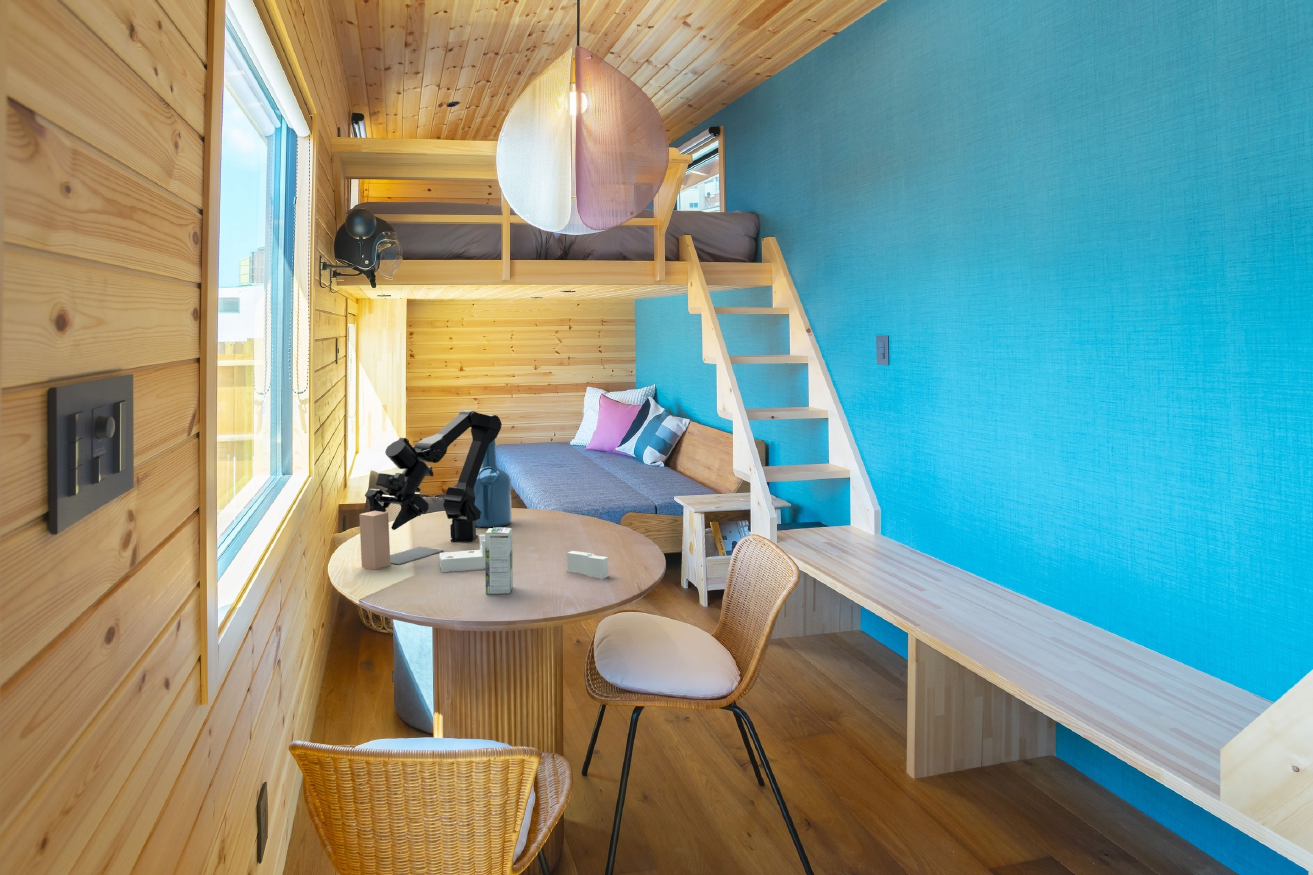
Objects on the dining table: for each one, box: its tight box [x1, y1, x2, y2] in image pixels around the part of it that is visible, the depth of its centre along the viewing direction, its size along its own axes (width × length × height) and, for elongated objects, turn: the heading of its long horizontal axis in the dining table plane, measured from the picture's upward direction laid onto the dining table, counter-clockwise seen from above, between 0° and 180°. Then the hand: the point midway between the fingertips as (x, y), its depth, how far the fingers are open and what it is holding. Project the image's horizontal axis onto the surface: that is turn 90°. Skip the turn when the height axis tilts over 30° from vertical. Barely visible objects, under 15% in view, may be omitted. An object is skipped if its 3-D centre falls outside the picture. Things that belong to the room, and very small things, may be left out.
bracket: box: [438, 534, 485, 573], centre depth 212 cm, size 13×7×8 cm, turn 108°
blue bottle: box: [474, 439, 513, 528], centre depth 260 cm, size 14×13×30 cm
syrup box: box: [484, 526, 514, 595], centre depth 190 cm, size 6×6×14 cm
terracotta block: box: [358, 511, 391, 571], centre depth 212 cm, size 5×5×14 cm
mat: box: [390, 546, 444, 566], centre depth 223 cm, size 16×9×1 cm, turn 151°
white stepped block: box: [566, 550, 609, 580], centre depth 204 cm, size 15×11×6 cm
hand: (380, 527), depth 213 cm, fingers open, 9 cm apart
